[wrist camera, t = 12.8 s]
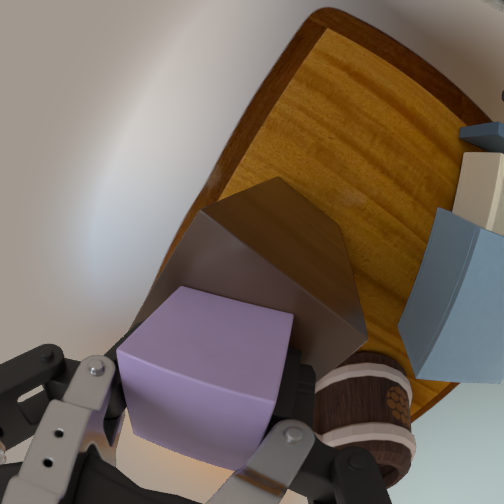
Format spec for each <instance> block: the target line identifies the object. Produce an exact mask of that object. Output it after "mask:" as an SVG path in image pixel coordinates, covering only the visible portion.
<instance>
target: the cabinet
mask: <svg viewBox="0 0 504 504" xmlns="http://www.w3.org/2000/svg"><path fill="white" fill-rule="evenodd" d="M397 327H398V330H399V333H400V335H401V338H402V341H403V343H404V346H405V349H406V352H407V355H408V357H409V360H410V363H411V366H412V369H413V372H414V375H415V378H416V379H425V380H435V381H448V382H465V383H490V384H500V383H501V381H502V380H503V379H504V236H502V235H500V234H497V233H494V232H492V231H489V230H487V229H484V228H482V227H480V226H478V225H476V224H474V223H472V222H470V221H468V220H466V219H464V218H462V217H460V216H458V215H456V214H454V213H452V212H451V211H448V210H446V209H443V208H440V207H438V208H437V212H436V216H435V219H434V223H433V227H432V230H431V234H430V237H429V241H428V244H427V247H426V250H425V254H424V257H423V260H422V263H421V266H420V269H419V272H418V274H417V277H416V280H415V283H414V286H413V288H412V291H411V293H410V296H409V299H408V301H407V304H406V306H405V309H404V311H403V313H402V316H401V318H400V320H399V323H398V325H397Z"/></svg>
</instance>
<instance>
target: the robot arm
mask: <svg viewBox="0 0 504 504" xmlns="http://www.w3.org/2000/svg"><path fill="white" fill-rule="evenodd" d="M144 321H145V320H143V321H141V322H139V323H137V324H136V325H134V326H133V327H132V328H131V329H130V331H128V332H127V333H126V334H125V335H124V337H122V338H121V339H120V340H119V341H118V342H117V343H116V344H115V345H114V346H113V347H112V348H111V349H110V350H109V351H108V352H107V353H106V354H105V355H92V356H89V357H87V358H85V359H84V360H82V361H81V362H80V361H76V360H71V359H67V358H64V354H63V351H62V349H61V348H60V347H58V346H57V345H54V344H44V345H41V346H38V347H36V348H34V349H32V350H30V351H28V352H26V353H23V354H21V355H19V356H17V357H15V358H13V359H11V360H9V361H6V362H5V363H2V364H0V464H1V465H0V504H202V503H198V502H195V501H192V500H190V499H186V498H184V497H181V496H178V495H174V494H168V493H163V492H158V491H152V490H148V489H144V488H141V487H139V486H138V485H136V484H135V483H134V482H133V481H131V480H130V479H129V478H128V477H126V476H125V475H124V474H123V473H122V472H120V471H119V470H118V469H117V468H116V448H117V444H118V440H119V436H120V433H121V429H122V425H123V421H124V417H125V411H124V410H125V408H126V407H127V405H126V400H125V396H124V391H123V386H122V381H121V376H120V371H119V365H118V359H117V353H116V350H117V348H118V347H119V346H120V345H121V344H122V343H123V342H124V341H125V340H126V339H127V338H128V337H129V336H130V335H131V334H132V333H133V332H134V331H135V330H136V329H137V328H138V327H139V326H140V325H141V324H142V323H143V322H144ZM301 355H302V350H297V349H293V348H288V349H287V354H286V359H285V364H284V369H283V373H282V378H281V383H280V387H279V392H278V396H277V401H276V404H275V407H274V410H273V413H272V416H271V419H270V421H269V424H268V427H267V430H266V432H265V435H264V438H263V440H262V443H261V444H260V445H259V447H258V448H257V449H256V450H255V452H254V453H253V454H252V456H251V457H250V458H249V459H248V461H247V462H246V463H245V464H244V465H243V467H242V468H240V469H237V470H236V471H235V472H234V473H233V474H232V475H231V476H230V477H229V478H228V479H227V480H226V482H225V483H224V484H223V485H222V486H221V487H220V488H219V489H218V491H217V492H216V493H215V494H214V495H213V496H212V497H211V498H210V499H209V500H208V501H207V502H206V504H279V503H280V501H281V499H282V498H283V496H284V495H285V493H286V491H287V489H290V490H292V491H294V492H296V493H298V494H301V495H303V496H305V497H307V499H308V504H392V503H391V500H390V497H389V495H388V492H387V489H386V486H385V484H384V481H383V478H382V476H381V473H380V470H379V468H378V465H377V463H376V460H375V458H374V456H373V455H372V454H371V453H370V452H369V451H368V450H367V449H365V448H362V447H359V446H349V447H345V448H343V449H342V450H338V449H336V448H333V447H331V446H329V445H327V444H325V443H323V442H322V441H320V440H319V439H318V438H317V436H316V435H315V433H314V431H313V428H312V421H313V411H314V399H315V385H316V373H315V371H314V369H313V367H312V365H307V364H302V363H301ZM40 385H42V386H43V388H44V390H43V391H41V392H39V393H38V394H36V395H34V396H32V397H30V398H28V399H26V400H25V401H23V402H17V400H18V398H19V397H20V396H21V395H23V394H25V393H27V392H29V391H31V390H33V389H34V388H36V387H38V386H40ZM33 435H34V437H33V439H32V442H31V444H30V446H29V449H28V451H27V453H26V456H25V458H24V461H23V462H17V463H9V464H4V463H5V462H6V456H5V451H7V450H8V449H10V448H12V447H14V446H16V445H17V444H19V443H21V442H22V441H24V440H26V439H28V438H30V437H31V436H33Z"/></svg>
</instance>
